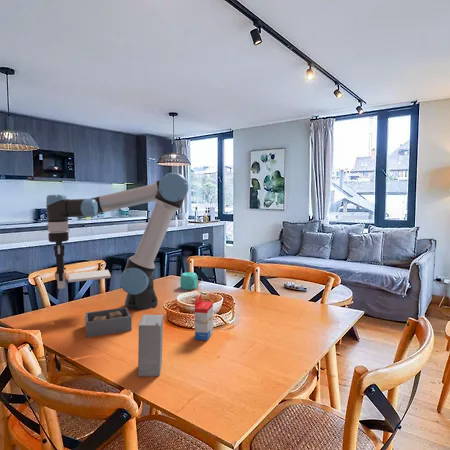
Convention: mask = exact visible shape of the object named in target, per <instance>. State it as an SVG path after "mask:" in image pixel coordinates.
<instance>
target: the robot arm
mask: <svg viewBox="0 0 450 450" xmlns="http://www.w3.org/2000/svg"><path fill="white" fill-rule="evenodd" d="M188 192H189V182H188V180H187V179H186V177H185V176H184V175H183V174H181V173H178V172H169V173H167V174H165V175H164V176H162V178H161V179H160V180H156V181H155V183H152V184H148V185H144V186H139V187H135V188H132V189H131V188H130V189H126V190H121V191H118V192H113V193H109V194H108V193H107V194H104V195H100V196H95V197H91V198H77V199H75V198H74V199H71V198H70V199H69V198H67V195H66V194H47V196H46V201H45V202H46V205H45V207H46V215H47V224H46V226H45V227H48V228H47V231H48V236H47V237H48V242H50V243H55V245H53V251H54V257H55V263H56V265H55V266H56V270H57V272H56V271H55V272H54V275H55V274H57V280H56V281H57V289H58V290H59V289H60V290H61V289H66V278H64V270H66V271H67V268H66V267H65V262H64V261H65V260H64V256H65V249H66V248H65V245H64V244H63V242H68V241H69V222H68V218H92V217H93V218H94V217H96V216H97V215H99V214H103V213H107V212H111V211H116V210H121V209H124V208H129V207H133V206H137V205H142V204H147V203H152V202H155V205H154V207H153V210H152V212H151V215H150V217H149V219H148V222H147V224H146V227H145V229H144V232H143V234H142V236H141V238H140V241H139V243H138V246H137V248H136V251H135V253H134V255H132V256H130V257H128V258H127V262H126V265H125V267H124V270H123V271H122V272H121V273H120V276H119V285H120V287H121V289H122V290H123V292H125V293H126V297H125V301H124V307H127V309H128V310H133V311H134V310H135V311H139V310H141V311H142V310H149V309H153V308H156V307H157V306H158V304H159V301H158V300H159V299H158V297H157V295H156V292H155V289H154V271H155V270H156V265H155V260H156V257H157V255H158V253H159V251H160V248H161V245H162V243H163V241H164V238H165V236H166V234H167V231H168V229H169V226H170V224H171V222H172V220H173V217H174V215H175V212H176V211H179V210H181V207H182V205H183V203H184V200H185V198H186V196H187V194H188Z"/></svg>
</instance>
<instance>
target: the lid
mask: <svg viewBox="0 0 450 450" xmlns="http://www.w3.org/2000/svg"><path fill="white" fill-rule="evenodd" d="M55 272H57V269H56V271H55ZM54 278H55V280H56V281H57V274H55V273H54ZM64 278H65V281H68V283H74V282H84V281H93V280H102V279H103V280H104V279H111V278H112V275H111V272H110V271H109V269H101V270H100V269H99V270H93V271H81V272H71V273H68V275H67V269H66V270H64Z"/></svg>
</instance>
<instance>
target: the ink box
mask: <svg viewBox="0 0 450 450" xmlns="http://www.w3.org/2000/svg"><path fill="white" fill-rule="evenodd" d="M213 304H214V303H213V301H205V300H204V301H203V300H202V294H199V296H198V297H196V298H195V299H194V339H195V341H196V340H197V341H208V340H209V339H210V337H211V335H212V334H213V332H214V318H213V317H214V311H213V309H214V308H213V307H214V306H213Z"/></svg>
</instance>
